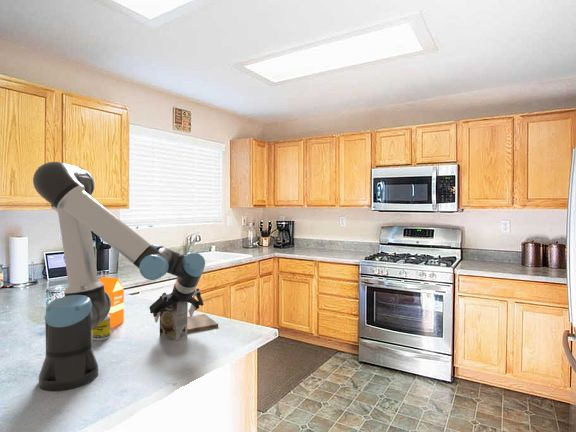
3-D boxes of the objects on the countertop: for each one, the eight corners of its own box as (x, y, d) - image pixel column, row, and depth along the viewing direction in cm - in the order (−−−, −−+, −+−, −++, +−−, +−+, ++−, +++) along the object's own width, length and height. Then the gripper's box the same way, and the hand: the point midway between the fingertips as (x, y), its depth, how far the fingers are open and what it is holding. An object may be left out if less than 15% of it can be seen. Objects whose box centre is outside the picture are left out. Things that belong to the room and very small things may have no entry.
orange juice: (112, 327, 153) (112, 279, 152) (93, 325, 154) (93, 278, 154) (124, 321, 160) (124, 276, 160) (106, 320, 162) (106, 275, 161)
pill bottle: (90, 341, 137) (90, 312, 136) (94, 335, 142) (94, 307, 142) (108, 340, 138) (108, 311, 138) (111, 334, 144) (111, 306, 144)
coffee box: (158, 337, 142) (158, 296, 141) (171, 332, 148) (171, 292, 147) (176, 341, 138) (176, 299, 137) (188, 336, 143) (188, 295, 143)
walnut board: (180, 334, 145) (180, 330, 145) (169, 323, 159) (169, 319, 159) (218, 327, 154) (218, 323, 154) (204, 317, 167) (204, 314, 167)
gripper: (151, 299, 122) (141, 330, 135) (220, 290, 136) (205, 319, 149) (147, 281, 126) (138, 312, 139) (215, 274, 140) (201, 303, 153)
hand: (173, 316), depth 144 cm, fingers open, 13 cm apart
